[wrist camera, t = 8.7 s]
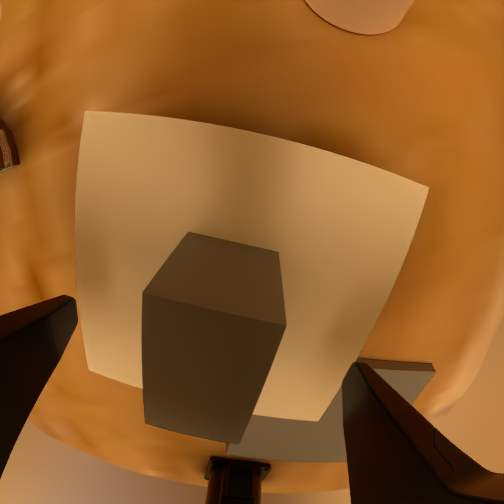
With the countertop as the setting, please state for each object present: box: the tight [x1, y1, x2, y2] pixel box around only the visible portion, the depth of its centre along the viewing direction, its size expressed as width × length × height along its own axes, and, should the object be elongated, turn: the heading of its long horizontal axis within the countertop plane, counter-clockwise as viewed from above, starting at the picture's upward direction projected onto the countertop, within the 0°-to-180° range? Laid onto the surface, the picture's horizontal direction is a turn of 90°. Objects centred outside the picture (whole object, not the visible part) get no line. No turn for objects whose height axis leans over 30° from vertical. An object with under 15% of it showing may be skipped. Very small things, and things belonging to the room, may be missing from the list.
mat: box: [226, 358, 436, 462], centre depth 20 cm, size 14×14×1 cm
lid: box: [75, 111, 429, 445], centre depth 9 cm, size 12×12×5 cm
